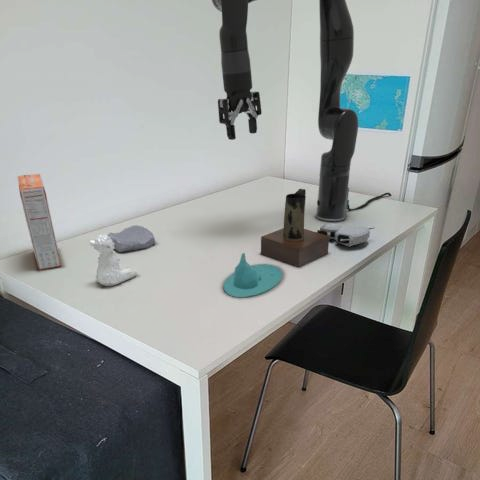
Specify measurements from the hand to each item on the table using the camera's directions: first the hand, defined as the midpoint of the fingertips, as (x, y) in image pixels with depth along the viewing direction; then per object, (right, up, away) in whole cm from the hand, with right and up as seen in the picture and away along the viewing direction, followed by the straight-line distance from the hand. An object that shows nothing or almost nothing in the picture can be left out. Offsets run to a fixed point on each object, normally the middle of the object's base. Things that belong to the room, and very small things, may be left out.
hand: (242, 136), depth 133 cm
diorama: (+3, -41, -17) cm, 45 cm away
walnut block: (+14, -33, -2) cm, 36 cm away
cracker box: (-52, -35, -5) cm, 63 cm away
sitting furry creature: (-32, -42, -17) cm, 55 cm away
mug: (+14, -29, -4) cm, 32 cm away
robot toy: (+29, -28, +6) cm, 41 cm away
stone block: (-31, -30, +4) cm, 44 cm away
